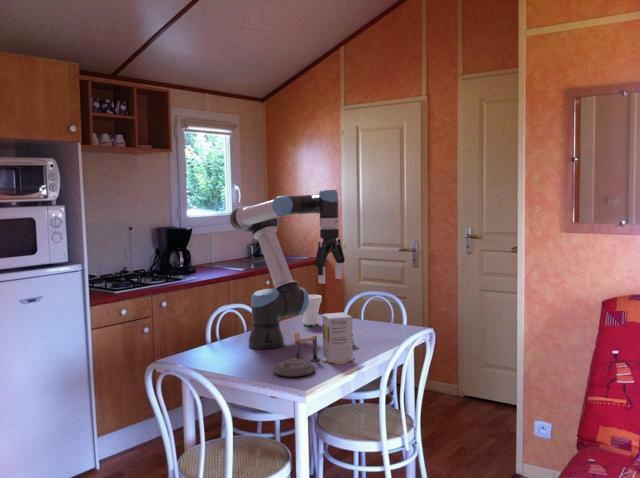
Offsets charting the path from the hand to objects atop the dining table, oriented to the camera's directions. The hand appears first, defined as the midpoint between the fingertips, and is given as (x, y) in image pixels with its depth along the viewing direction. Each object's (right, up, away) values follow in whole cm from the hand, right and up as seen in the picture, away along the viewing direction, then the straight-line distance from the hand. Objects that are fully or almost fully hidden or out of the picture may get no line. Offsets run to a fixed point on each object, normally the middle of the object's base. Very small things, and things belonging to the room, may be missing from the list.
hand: (330, 281), depth 247 cm
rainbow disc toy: (+5, -28, +10) cm, 30 cm away
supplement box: (+3, -29, -12) cm, 31 cm away
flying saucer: (-13, -32, -26) cm, 43 cm away
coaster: (+3, -30, -12) cm, 32 cm away
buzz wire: (-11, -30, -12) cm, 34 cm away
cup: (-9, -25, +51) cm, 57 cm away
